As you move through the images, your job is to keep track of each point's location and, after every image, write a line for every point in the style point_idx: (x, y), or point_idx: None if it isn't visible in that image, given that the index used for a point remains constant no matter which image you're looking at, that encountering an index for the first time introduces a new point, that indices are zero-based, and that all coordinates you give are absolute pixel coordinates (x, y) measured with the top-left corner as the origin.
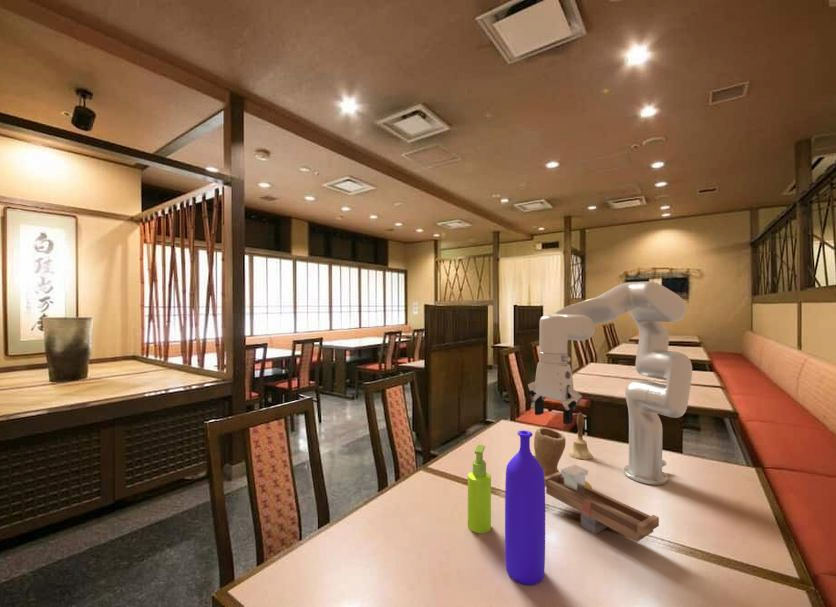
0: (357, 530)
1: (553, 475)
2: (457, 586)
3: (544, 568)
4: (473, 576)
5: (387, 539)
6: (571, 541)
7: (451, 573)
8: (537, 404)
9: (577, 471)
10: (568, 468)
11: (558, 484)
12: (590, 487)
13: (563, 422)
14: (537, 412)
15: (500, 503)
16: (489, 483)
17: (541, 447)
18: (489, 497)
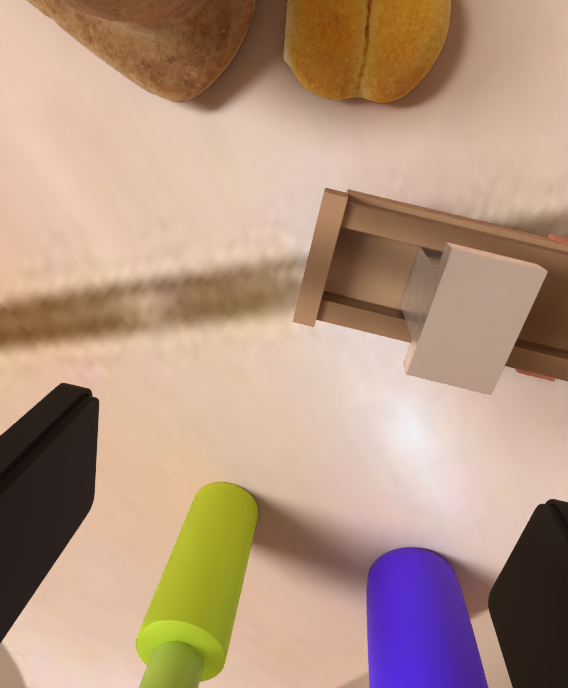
0: (57, 658)
1: (322, 261)
2: (323, 666)
3: (460, 587)
4: (330, 636)
5: (122, 647)
6: (468, 412)
7: (292, 650)
8: (4, 626)
9: (493, 332)
10: (435, 330)
11: (376, 320)
12: (445, 5)
13: (494, 612)
14: (77, 521)
15: (186, 372)
16: (228, 638)
17: (95, 10)
18: (239, 591)
